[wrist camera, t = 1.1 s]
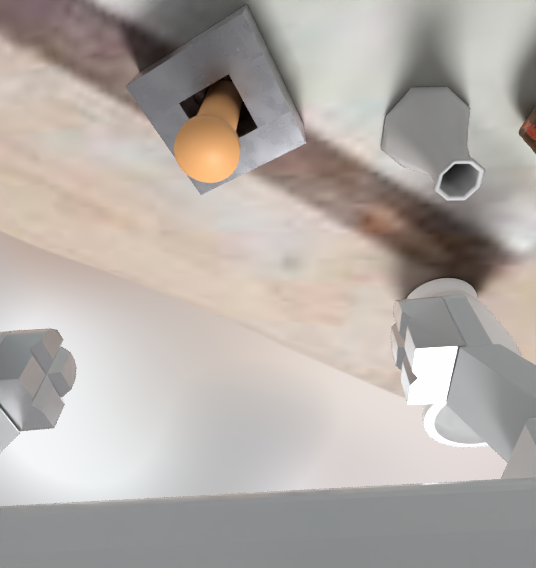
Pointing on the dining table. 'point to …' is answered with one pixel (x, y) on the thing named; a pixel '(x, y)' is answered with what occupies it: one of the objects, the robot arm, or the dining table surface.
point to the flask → (433, 140)
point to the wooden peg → (211, 136)
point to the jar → (440, 416)
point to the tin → (529, 130)
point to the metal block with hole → (210, 68)
